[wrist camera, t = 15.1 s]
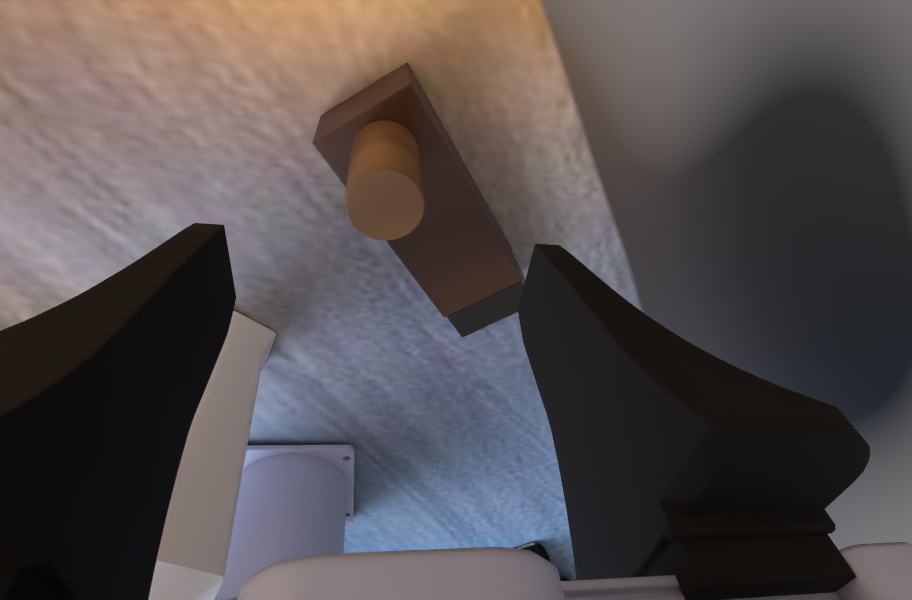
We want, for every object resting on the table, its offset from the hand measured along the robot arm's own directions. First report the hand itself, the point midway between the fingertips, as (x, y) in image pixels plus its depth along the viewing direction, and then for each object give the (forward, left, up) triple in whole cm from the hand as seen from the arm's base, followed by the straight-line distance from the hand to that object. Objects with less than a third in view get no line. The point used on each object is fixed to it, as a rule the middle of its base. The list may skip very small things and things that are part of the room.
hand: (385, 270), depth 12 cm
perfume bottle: (-12, +7, -11) cm, 18 cm away
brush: (-3, -2, -10) cm, 11 cm away
